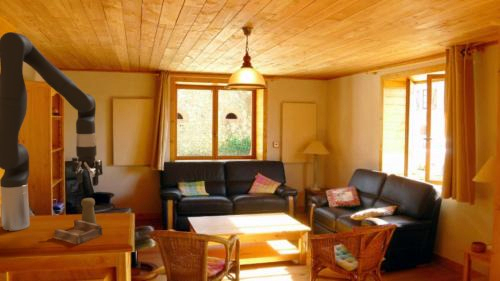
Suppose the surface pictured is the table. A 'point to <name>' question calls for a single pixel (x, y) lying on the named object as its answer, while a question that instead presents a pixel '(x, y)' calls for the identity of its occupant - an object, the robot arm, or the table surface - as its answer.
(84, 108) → the robot arm
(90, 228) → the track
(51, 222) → the table surface
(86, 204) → the cork
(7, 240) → the table surface
